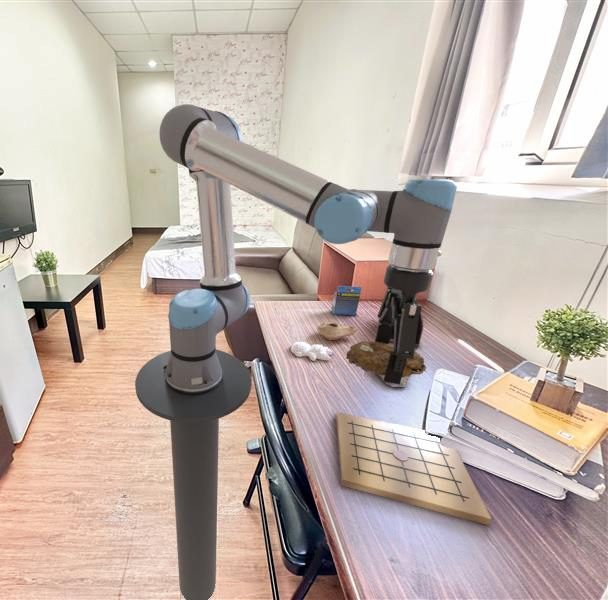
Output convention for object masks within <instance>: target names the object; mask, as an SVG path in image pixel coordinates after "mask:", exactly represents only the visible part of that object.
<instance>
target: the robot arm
mask: <svg viewBox="0 0 608 600" xmlns="http://www.w3.org/2000/svg"><path fill="white" fill-rule="evenodd" d="M158 133H159V141H160V146H161V147H162V151H164V153H165V154H166V156H167V157H168V158H169V159H171V161H173V162H174V163H177V164H178V165H181V166H183V167H185V168H187V169H188V175H189V177H191V179H192V180H193V181H194V182H195V184H196V195H197V196H196V197H197V207H198V218H199V230H200V241H201V249H202V250H201V251H202V261H203V270H204V271H203V272H204V275H203V276H202V277H201V278H200V280H199V287H200V288H191V289H185V290H183V291H181V292H179V293H176V294H175V295H174V296H173V297H172V298H171V299H170V301H169V304H168V313H167V314H168V315H167V317H168V327H169V328H168V329H169V343H170V351H171V355H170V358H169V361H168V364H167V365H166V366H164V367H163V368H164V369H166V371H165V380H166V383H167V385H168V386H169V387H170V388H171V389H172V390H174V391H175V392H178V393H181V394H185V395H200V394H205V393H208V392H210V391H212V390H214V389H215V388H217V387H218V386H219V384H220V383H221V381H222V369H221V365H220V363H219V360H218V357H217V354H216V349H217V335H218V334H219V333H221V332H222V331H224V330H225V329H226V328H228V327H230V326H231V325H232V324H234V323H236V322H238V321H239V320H240V319H242V317H243V316H244V315H245V314H246V313H247V311H248V309H249V308H250V304H251V296H250V292H249V289H248V287H246V286H245V283H243V279H242V276H241V275H240V274H239V273H238V272H237V270H236V256H235V255H236V254H235V239H234V238H235V237H234V222H233V206H232V205H233V204H232V187H231V186H233V187H235V188H237V189H239V190H241V191H242V192H245V193H246V194H249V196H250V195H251V196H253V198H256V199H258V200H260V201H262V202H264V203H265V204H268V205H269V206H272V207H274V208H276V210H279V211H281V212H283V213H284V214H287V215H288V216H291V217H293V218H295V219H297V220H299V221H300V222H303V223H304V224H307V225H308V226H310V227H312V228H313V229H315V231H316V232H317V234H318V235H319V237H321V239H322V240H323V241H325V242H327V243H329V244H333V245H344V244H348V243H352V242H355V241H357V240H358V239H360V238H362V237H363V236H364V235H365V234H367V232H374V233H385V234H393V239H392V242H391V246H390V250H389V255H388V259H387V263H388V264H389V265H388V266H386V270H385V273H384V278H383V283H384V285H385V286H386V291H385V294H384V297H383V299H382V302H381V304H380V307H379V310H378V312H377V315H376V317H377V318H378V325H377V329H376V334H375V338H374V342H379V343H386V344H390V342H389V340H390V336H391V332H392V329H393V327H392V326H389V325H394V324H395V326H394V342H393V344H392V345H393V351H389V355H390V357H389V361H388V364H387V368H386V372H385V376H384V381H383V382H384V383H385V382H388V383H394V384H400V382H401V378H402V375H403V371H404V368H405V364H406V361H407V359H413V358H414V352H416V351H415V349H416V347H415V343H416V336H417V328H418V320H419V316H420V312H421V313H422V308H423V307H422V305H421V304H417V303H418V302H417V301H418V300H417V299H416V297H417V296H416V295H417V294H419V293H424V292H427V291H428V290H430V286H431V283H432V280H433V276H434V272H433V269H435V267H436V264H437V260H438V257H441V256H442V254H443V252H442V251H441V247H442V243H443V240H444V237H445V234H446V232H447V231H446V230H447V228H448V224H449V221H450V218H451V214H452V211H453V206H454V202H455V198H456V193H457V189H458V185H457V183H455V181H453V180H451V179H409V180H407V181H406V183H405V185H404V187H403V189H402V190H373V189H355V188H351V189H349V188H346V187H344V186H342V185H339V184H337V183H334V182H332V181H330V180H328V179H326V178H323V177H322V176H319V175H318V174H315V173H312V172H310V171H308V170H305V169H303V168H301V167H299V166H296V165H294V164H293V163H290V162H288V161H285V160H284V159H281V158H279V157H276V156H275V155H273V154H270V153H268V152H266V151H264V150H262V149H259V148H257V147H255V146H252V145H251V144H248V143H245V142H244V141H243V135H242V131H241V129H240V126H239V124H238V123H237V122H236V121H235V119H233V118H232V117H231V116H229V115H227V114H225V113H223V112H221V111H218V110H212V109H208V108H204V107H201V106H197V105H194V104H189V103H182V104H178V105H175V106H174V107H172V108H170V109H169V110H168V111H167V112H166V114H165V115H163V118H162V119H161V122H160V125H159V132H158ZM394 320H395V321H394Z"/></svg>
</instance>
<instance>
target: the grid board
mask: <svg viewBox="0 0 608 600" xmlns="http://www.w3.org/2000/svg"><path fill="white" fill-rule="evenodd" d="M335 414H336V415H335V421H336V435H337V446H338V447H337V449H338V458H339V460H338V461H339V472H340V485H341V486H342V487H346V488H350V489H353V490H357V491H361V492H364V493H368V494H372V495H376V496H379V497H383V498H387V499H390V500H394V501H397V502H401V503H405V504H409V505H412V506H416V507H419V508H424V509H427V510H431V511H434V512H438V513H442V514H445V515H449V516H453V517H457V518H459V519H460V518H461V519H463V520H467V521H471V522H475V523H480V524H483V525H486V526H489V525H490V524H491V522H492V520H493V519H492V517H491V515H490V513H489V511H488V509H487V507H486V505H485V503H484V501H483V499H482V497H481V495H480V493H479V491H478V489H477V487H476V486H475V483H474V482H473V480H472V478H471V476H470V473H469V471H468V469H467V468H466V465H465V464H464V462H463V460H462V458H461V456H460V454H459V452H458V451H457V449H456V450H455V449H451V448H447V447H444V446H442V445H441V444H440V438H438V437H436V436H431V435H427V434H426V433H425V430H426V429H420V428H416V427H411V426H407V425H402V424H397V423H392V422H387V421H383V420H377V419H374V418H373V419H372V418H368V417H363V416H360V415H353V414H349V413H344V412H339V411H336V413H335Z"/></svg>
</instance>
